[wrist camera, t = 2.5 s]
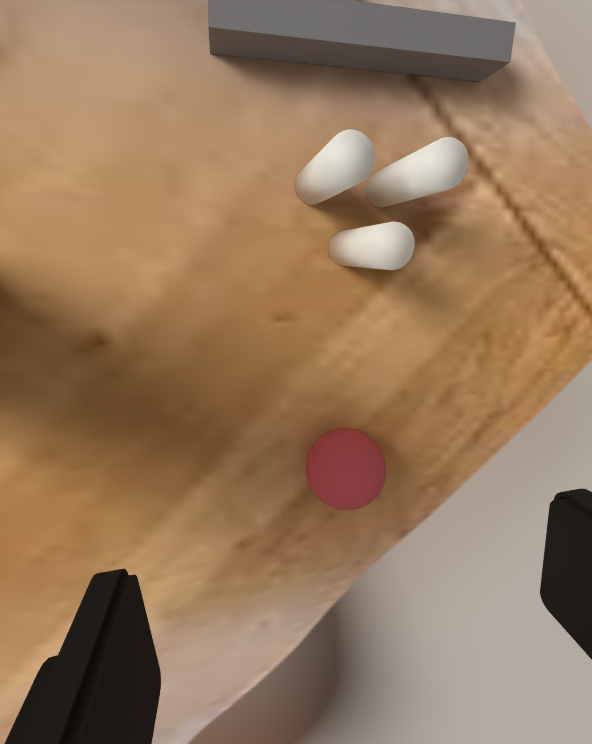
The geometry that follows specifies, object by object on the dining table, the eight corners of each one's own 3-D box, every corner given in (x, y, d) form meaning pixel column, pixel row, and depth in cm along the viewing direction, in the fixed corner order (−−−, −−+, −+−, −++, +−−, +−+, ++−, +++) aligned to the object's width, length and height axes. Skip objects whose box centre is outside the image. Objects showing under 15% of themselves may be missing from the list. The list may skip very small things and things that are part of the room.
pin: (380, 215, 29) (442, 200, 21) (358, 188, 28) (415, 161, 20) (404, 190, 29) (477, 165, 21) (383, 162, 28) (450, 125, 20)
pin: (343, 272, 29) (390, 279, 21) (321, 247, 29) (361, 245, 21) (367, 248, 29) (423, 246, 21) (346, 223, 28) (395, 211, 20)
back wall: (484, 47, 27) (515, 22, 24) (480, 81, 27) (510, 62, 25) (208, 13, 24) (207, -20, 21) (210, 53, 24) (208, 27, 21)
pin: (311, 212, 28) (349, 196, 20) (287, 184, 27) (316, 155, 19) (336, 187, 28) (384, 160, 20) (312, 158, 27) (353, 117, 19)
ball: (332, 494, 35) (354, 542, 29) (284, 453, 33) (297, 495, 27) (383, 446, 34) (416, 485, 28) (337, 402, 32) (362, 433, 27)
